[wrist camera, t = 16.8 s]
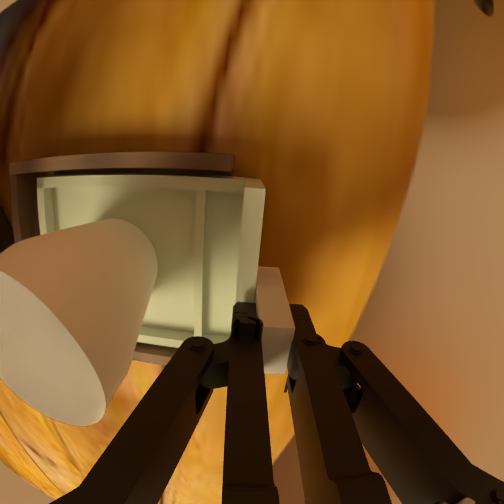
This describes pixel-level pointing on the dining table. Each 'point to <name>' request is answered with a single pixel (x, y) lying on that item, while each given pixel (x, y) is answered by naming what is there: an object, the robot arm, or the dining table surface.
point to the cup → (73, 316)
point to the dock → (116, 162)
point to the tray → (174, 240)
